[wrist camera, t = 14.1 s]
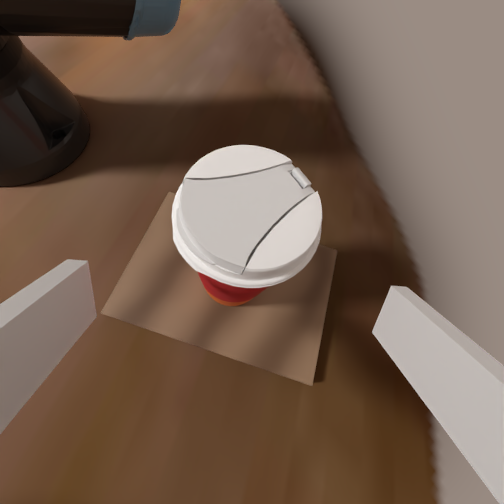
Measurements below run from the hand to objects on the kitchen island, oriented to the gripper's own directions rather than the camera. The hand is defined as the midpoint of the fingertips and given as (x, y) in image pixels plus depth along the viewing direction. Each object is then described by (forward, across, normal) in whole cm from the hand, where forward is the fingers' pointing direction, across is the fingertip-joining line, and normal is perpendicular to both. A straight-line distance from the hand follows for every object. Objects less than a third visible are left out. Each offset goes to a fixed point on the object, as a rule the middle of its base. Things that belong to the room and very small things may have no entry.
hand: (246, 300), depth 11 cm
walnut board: (+13, 0, -7) cm, 15 cm away
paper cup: (+12, 0, -6) cm, 14 cm away
